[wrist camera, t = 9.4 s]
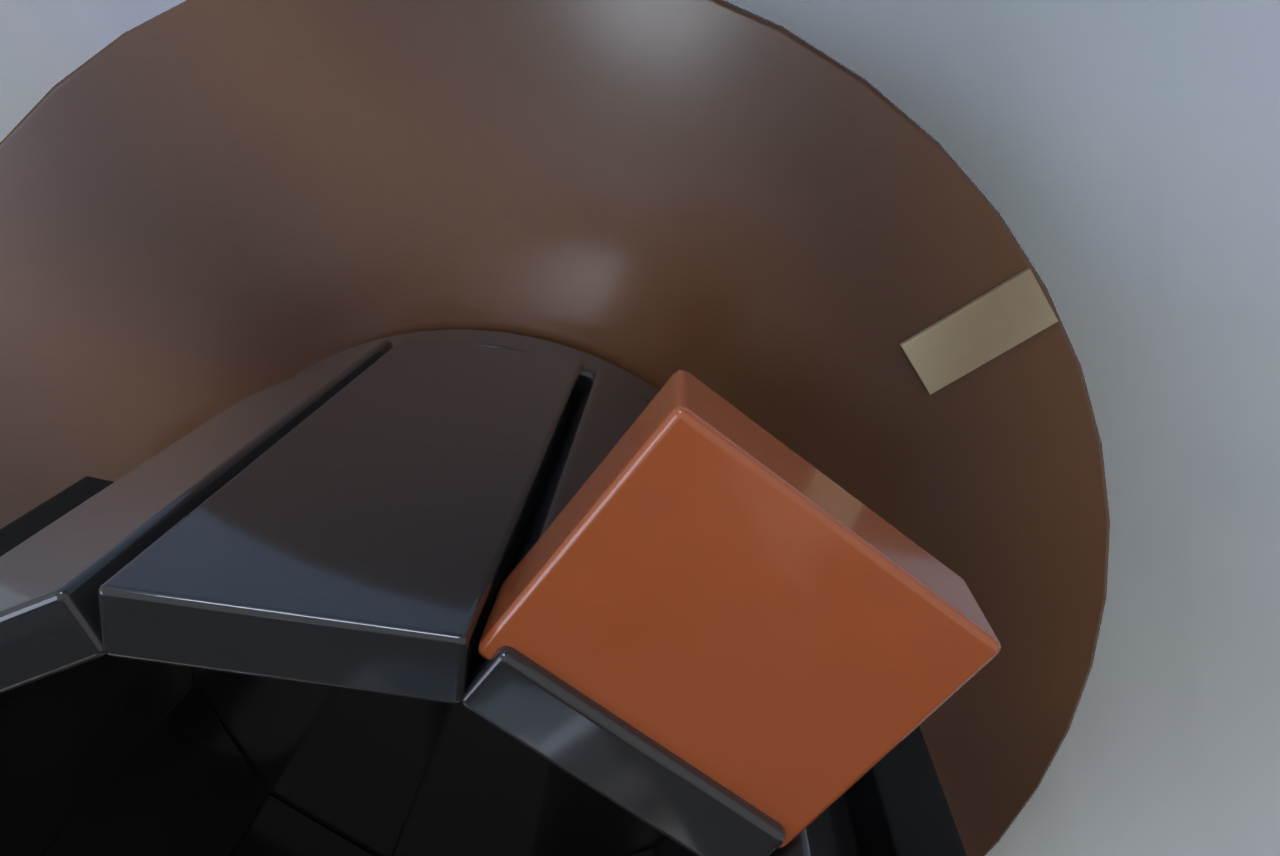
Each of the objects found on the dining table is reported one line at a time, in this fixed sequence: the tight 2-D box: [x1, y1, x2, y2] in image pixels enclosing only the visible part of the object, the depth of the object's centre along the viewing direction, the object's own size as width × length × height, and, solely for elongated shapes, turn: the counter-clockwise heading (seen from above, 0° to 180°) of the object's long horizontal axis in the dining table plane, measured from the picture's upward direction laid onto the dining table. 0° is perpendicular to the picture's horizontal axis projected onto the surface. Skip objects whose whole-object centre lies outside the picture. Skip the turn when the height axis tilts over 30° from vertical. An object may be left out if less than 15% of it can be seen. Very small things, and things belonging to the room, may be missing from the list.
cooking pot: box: [0, 329, 1001, 856], centre depth 10 cm, size 9×13×7 cm
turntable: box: [0, 0, 1110, 856], centre depth 14 cm, size 18×18×2 cm
